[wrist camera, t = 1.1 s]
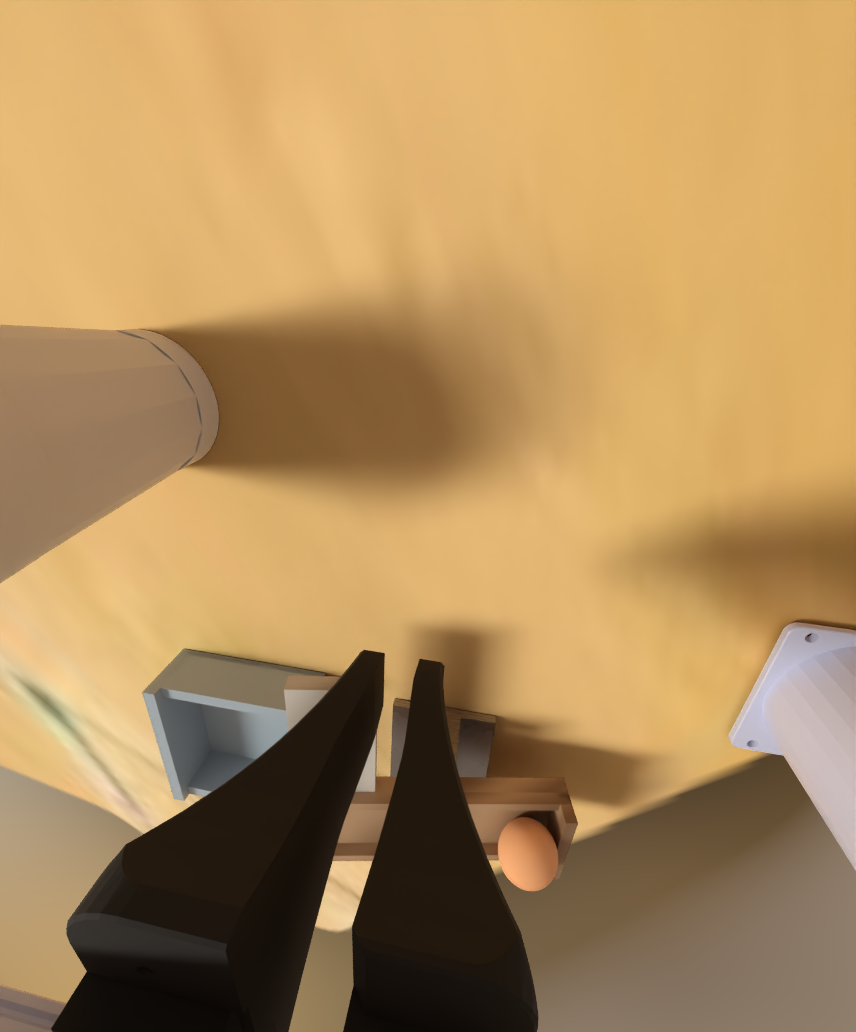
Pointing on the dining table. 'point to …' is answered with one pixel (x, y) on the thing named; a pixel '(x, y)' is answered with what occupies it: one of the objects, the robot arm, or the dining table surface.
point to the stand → (466, 736)
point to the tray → (216, 716)
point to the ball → (528, 854)
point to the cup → (90, 428)
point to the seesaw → (485, 795)
